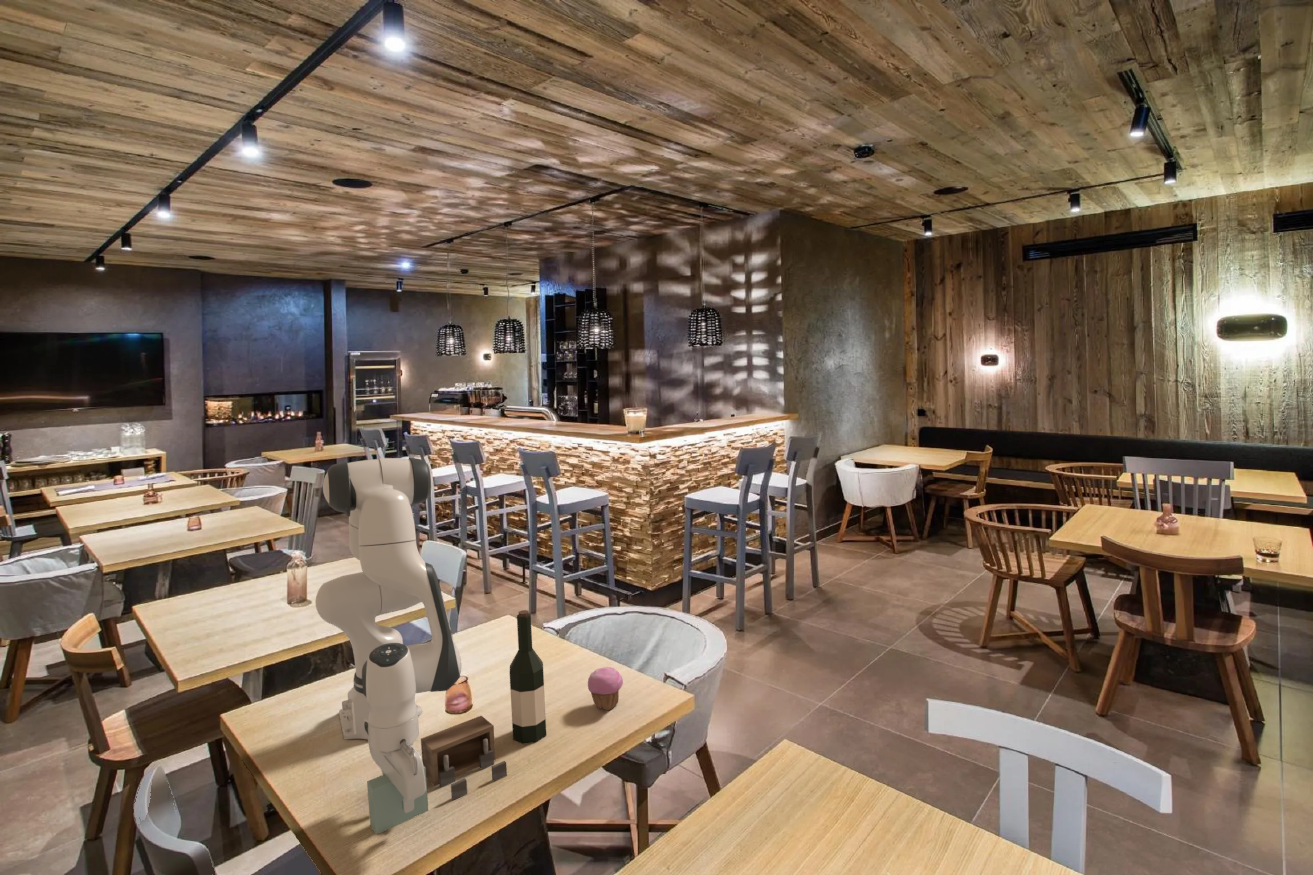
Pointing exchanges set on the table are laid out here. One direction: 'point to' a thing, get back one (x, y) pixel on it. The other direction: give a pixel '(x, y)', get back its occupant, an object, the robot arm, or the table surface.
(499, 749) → the table surface
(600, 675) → the cupcake
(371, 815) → the door
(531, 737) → the wine bottle
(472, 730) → the cabinet
